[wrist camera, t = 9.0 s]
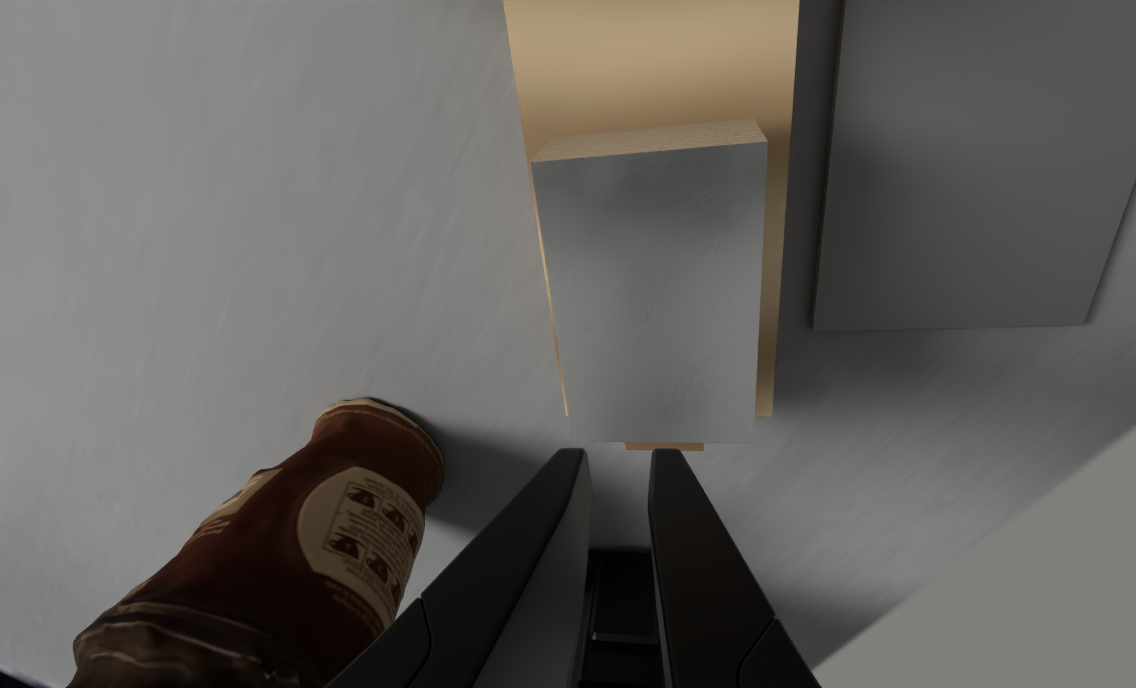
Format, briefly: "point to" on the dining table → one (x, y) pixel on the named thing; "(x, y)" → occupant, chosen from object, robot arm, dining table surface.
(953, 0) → the mat
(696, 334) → the grey flat block
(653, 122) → the latch plate
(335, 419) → the brown jar
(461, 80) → the dining table surface
